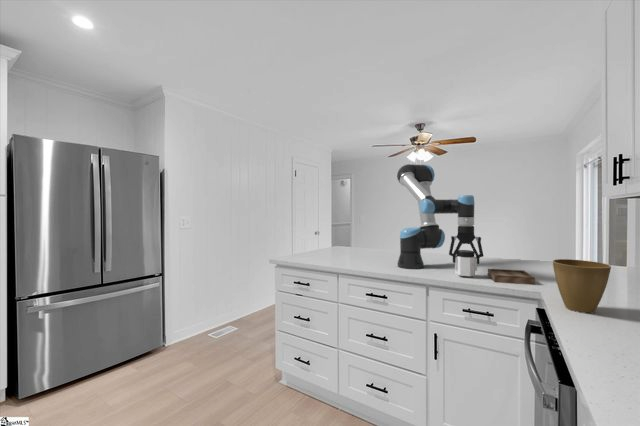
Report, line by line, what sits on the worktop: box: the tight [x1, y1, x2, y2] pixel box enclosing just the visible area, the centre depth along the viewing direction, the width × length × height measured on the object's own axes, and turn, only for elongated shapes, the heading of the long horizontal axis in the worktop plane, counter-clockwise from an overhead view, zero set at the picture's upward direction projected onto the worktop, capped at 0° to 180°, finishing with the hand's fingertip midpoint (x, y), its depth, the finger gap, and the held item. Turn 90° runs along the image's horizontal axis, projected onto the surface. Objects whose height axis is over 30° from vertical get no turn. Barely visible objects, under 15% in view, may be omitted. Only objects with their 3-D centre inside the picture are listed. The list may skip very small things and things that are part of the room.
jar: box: [455, 249, 476, 277], centre depth 152 cm, size 9×8×12 cm
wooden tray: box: [487, 268, 536, 286], centre depth 145 cm, size 16×16×3 cm
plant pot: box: [552, 258, 612, 313], centre depth 101 cm, size 15×15×16 cm
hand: (465, 269), depth 152 cm, fingers closed on jar, 8 cm apart
